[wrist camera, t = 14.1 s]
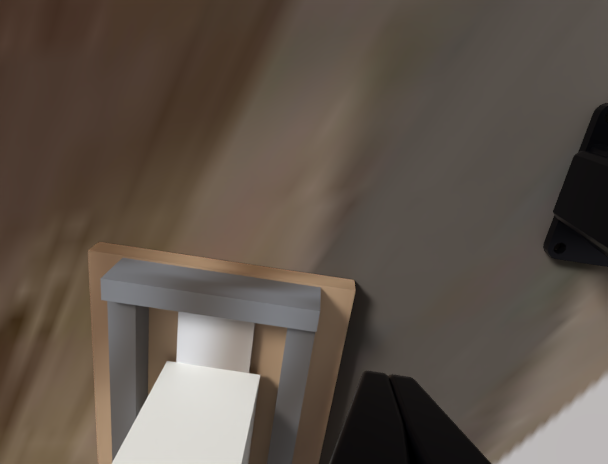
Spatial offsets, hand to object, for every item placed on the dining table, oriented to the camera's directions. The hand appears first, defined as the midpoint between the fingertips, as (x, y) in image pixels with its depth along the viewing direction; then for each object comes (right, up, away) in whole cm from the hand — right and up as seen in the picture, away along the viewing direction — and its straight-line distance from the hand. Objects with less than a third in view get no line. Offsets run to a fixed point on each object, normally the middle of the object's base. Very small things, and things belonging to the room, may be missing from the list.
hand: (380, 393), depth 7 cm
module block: (-6, -7, +15) cm, 17 cm away
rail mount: (-6, -7, +16) cm, 18 cm away
